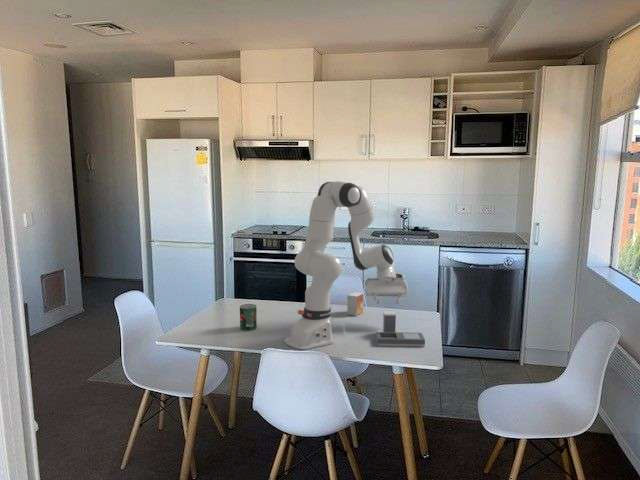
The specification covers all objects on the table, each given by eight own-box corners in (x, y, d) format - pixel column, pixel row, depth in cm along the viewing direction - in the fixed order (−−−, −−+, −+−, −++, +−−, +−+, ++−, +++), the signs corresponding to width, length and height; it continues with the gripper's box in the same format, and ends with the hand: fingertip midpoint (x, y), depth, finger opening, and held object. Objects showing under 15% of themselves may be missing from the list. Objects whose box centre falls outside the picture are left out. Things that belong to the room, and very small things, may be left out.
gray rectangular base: (377, 346, 208) (377, 339, 208) (375, 339, 217) (376, 332, 217) (424, 347, 208) (425, 339, 207) (421, 340, 217) (421, 332, 216)
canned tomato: (236, 328, 231) (236, 306, 230) (249, 324, 237) (249, 302, 235) (247, 332, 226) (246, 309, 224) (260, 328, 232) (259, 306, 230)
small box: (356, 316, 251) (356, 296, 249) (346, 314, 254) (347, 295, 252) (363, 312, 258) (363, 293, 256) (354, 310, 261) (354, 291, 259)
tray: (378, 338, 218) (379, 337, 218) (377, 331, 228) (377, 330, 228) (401, 339, 218) (401, 337, 218) (398, 331, 228) (398, 330, 228)
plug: (384, 335, 221) (384, 314, 219) (383, 331, 226) (383, 311, 224) (395, 335, 220) (395, 314, 219) (393, 332, 225) (394, 311, 224)
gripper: (365, 274, 235) (366, 300, 227) (407, 275, 234) (410, 300, 226) (364, 281, 240) (365, 306, 232) (406, 282, 239) (408, 307, 231)
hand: (387, 303), depth 229 cm, fingers open, 8 cm apart
